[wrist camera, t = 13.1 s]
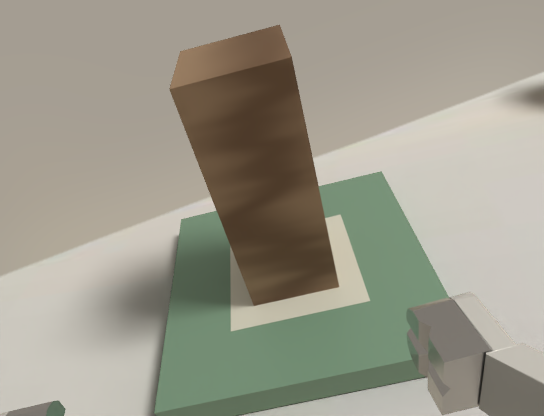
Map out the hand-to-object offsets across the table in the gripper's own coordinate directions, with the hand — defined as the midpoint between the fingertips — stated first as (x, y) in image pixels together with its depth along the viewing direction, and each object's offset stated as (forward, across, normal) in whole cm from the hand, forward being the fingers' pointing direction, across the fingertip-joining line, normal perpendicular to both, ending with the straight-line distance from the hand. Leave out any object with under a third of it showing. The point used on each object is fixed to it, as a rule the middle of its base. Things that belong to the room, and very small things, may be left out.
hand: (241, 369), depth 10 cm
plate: (+12, -3, +9) cm, 15 cm away
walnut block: (+12, -2, +8) cm, 14 cm away
